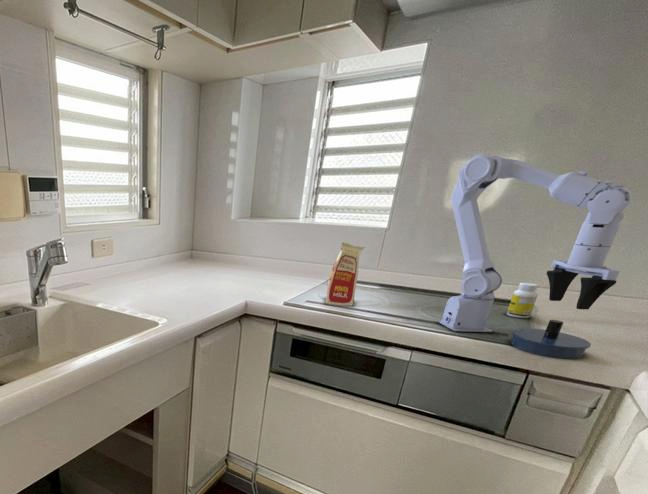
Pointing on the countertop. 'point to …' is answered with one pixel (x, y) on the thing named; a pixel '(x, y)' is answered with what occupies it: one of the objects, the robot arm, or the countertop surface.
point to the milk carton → (344, 276)
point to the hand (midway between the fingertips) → (568, 304)
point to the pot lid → (551, 337)
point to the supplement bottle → (523, 301)
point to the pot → (547, 349)
